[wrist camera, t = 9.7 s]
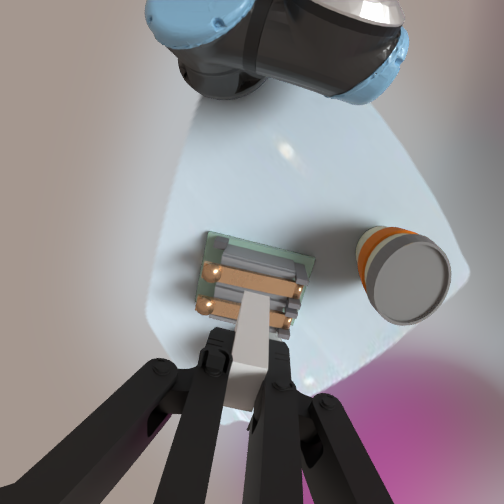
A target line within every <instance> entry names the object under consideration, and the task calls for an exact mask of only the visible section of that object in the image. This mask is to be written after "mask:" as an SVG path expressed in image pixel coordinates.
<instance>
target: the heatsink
mask: <svg viewBox="0 0 504 504" xmlns="http://www.w3.org/2000/svg"><path fill="white" fill-rule="evenodd" d="M204 261H209V262H213V263H218V264H222V265H227V266H231V267H235V268H240V269H244V270H249V271H253V272H258V273H262V274H267V275H271V276H276V277H280V278H285V279H290V280H294V281H295V282H296V284H300V285H304V287H303V290H302V293H301V296H300V299H294V298H290V297H285V296H281V295H276V294H271V293H266V292H262V291H257V290H252V289H248V288H243V287H239V286H234V285H230V284H225V283H221V282H215V283H209V282H207V281H205V280H204V279H203V278H201V276H202V270H203V265H204ZM314 262H315V258H314V257H311V256H307V255H303V254H299V253H296V252H292V251H288V250H284V249H280V248H276V247H272V246H268V245H264V244H260V243H256V242H252V241H248V240H244V239H240V238H236V237H232V236H228V235H224V234H220V233H216V232H212V231H209V232H208V236H207V241H206V246H205V251H204V256H203V261H202V266H201V271H200V277H199V282H198V287H197V293H196V298H195V302H197V297H198V294H201V295H205V296H209V297H214V298H218V299H223V300H227V301H232V302H236V303H242V299H243V295H244V291H248V292H253V293H257V294H261V295H265V296H269V297H270V310H275V311H280V312H285V316H286V317H290V318H293V319H292V322H291V325H292V326H293V323H294V321H295V319H296V318H297V315H298V310H300V307H301V301H302V298H303V295H304V292H305V289H306V286H308V284H309V277H310V274H311V271H312V268H313V265H314ZM209 318H213V319H217V320H221V321H225V322H229V323H233V324H236V322H237V319H232V318H227V317H223V316H218V315H214V314H209ZM269 332H271V333H275V334H276V332H277V336H278V338H282V339H287V340H289V337H290V330H289V329H288V330H284V329H282V328H277V327H272V326H269Z"/></svg>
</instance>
